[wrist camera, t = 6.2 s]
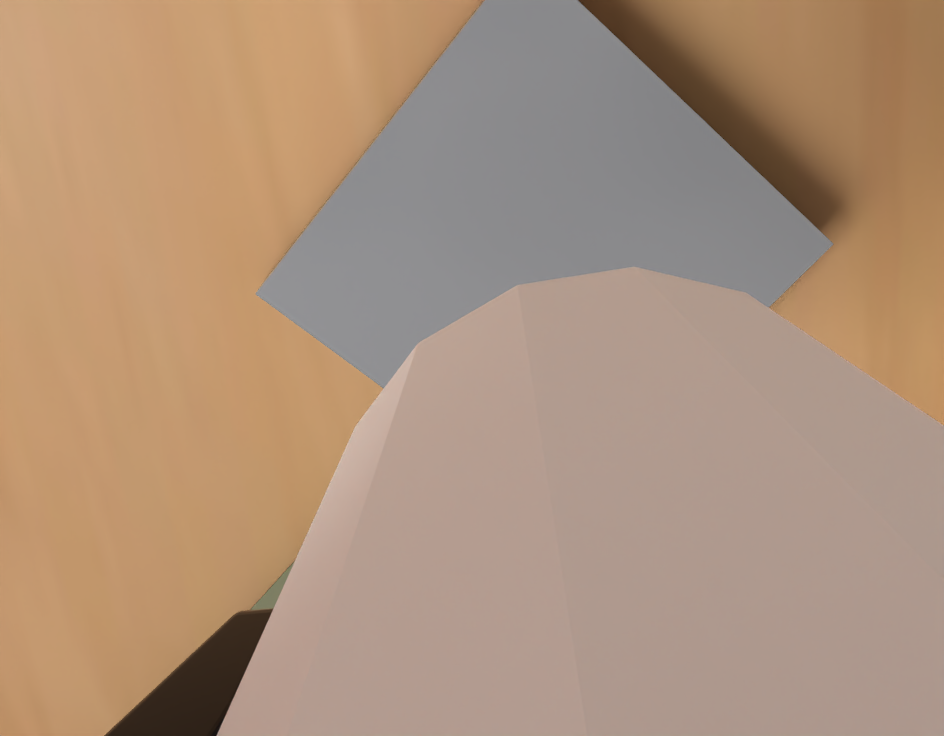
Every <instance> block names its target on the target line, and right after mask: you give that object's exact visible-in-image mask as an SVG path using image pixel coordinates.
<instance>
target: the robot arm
mask: <svg viewBox="0 0 944 736" xmlns="http://www.w3.org/2000/svg"><path fill="white" fill-rule="evenodd" d="M273 609H274V608H271V609H259V610H246V611H241V612H238V613H236V614H235V615H233V616H232V617H231V618H230V619H229V620H228V621H227V622H226V623H225V624H223V625H222V626H221V627H220V628H219V629H218V630H217V631H216V632H215V633H214V634H213V635H212V636H211V637H210V638H208V639H207V640H206V641H205V642H204V643H203V644H202V645H201V646H200V647H199V648H198V649H197V650H196V651H194V652H193V653H192V654H191V655H190V656H189V657H188V658H187V659H186V660H185V661H184V662H183V663H182V664H181V665H179V666H178V667H177V668H176V669H175V670H174V671H173V672H172V673H171V674H170V675H169V676H168V677H167V678H166V679H164V680H163V681H162V682H161V683H160V684H159V685H158V686H157V687H156V688H155V689H154V690H153V691H152V692H151V693H149V694H148V695H147V696H146V697H145V698H144V699H143V700H142V701H141V702H140V703H139V704H138V705H137V706H136V707H134V708H133V709H132V710H131V711H130V712H129V713H128V714H127V715H126V716H125V717H124V718H123V719H122V720H121V721H119V722H118V723H117V724H116V725H115V726H114V727H113V728H112V729H111V730H110V731H109V732H108V733H107V734H106V735H104V736H217V734H218V731H219V729H220V727H221V725H222V723H223V720H224V718H225V716H226V714H227V711H228V709H229V707H230V705H231V702H232V700H233V698H234V696H235V694H236V691H237V689H238V687H239V685H240V682H241V680H242V678H243V676H244V673H245V671H246V669H247V667H248V665H249V662H250V660H251V658H252V656H253V653H254V651H255V649H256V647H257V644H258V642H259V640H260V638H261V636H262V633H263V631H264V629H265V627H266V624H267V622H268V620H269V618H270V615H271V613H272V611H273Z"/></svg>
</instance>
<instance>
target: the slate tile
mask: <svg viewBox="0 0 944 736" xmlns="http://www.w3.org/2000/svg"><path fill="white" fill-rule="evenodd" d="M832 245H833V243H832V242H831V241H830V240H829V239H828V238H827V237H826V236H825V235H824V234H822V233H821V232H820V231H819V230H818V229H817V228H816V227H815V226H814V225H813V224H812V223H811V222H810V221H809V220H808V219H807V218H806V217H805V216H804V215H803V214H802V213H800V212H799V211H798V210H797V209H796V208H795V207H794V206H793V205H792V204H791V203H790V202H789V201H788V200H787V199H786V198H785V197H784V196H783V195H782V194H781V193H779V192H778V191H777V190H776V189H775V188H774V187H773V186H772V185H771V184H770V183H769V182H768V181H767V180H766V179H765V178H764V177H763V176H762V175H761V174H760V173H758V172H757V171H756V170H755V169H754V168H753V167H752V166H751V165H750V164H749V163H748V162H747V161H746V160H745V159H744V158H743V157H742V156H741V155H740V154H739V153H737V152H736V151H735V150H734V149H733V148H732V147H731V146H730V145H729V144H728V143H727V142H726V141H725V140H724V139H723V138H722V137H721V136H720V135H719V134H718V133H716V132H715V131H714V130H713V129H712V128H711V127H710V126H709V125H708V124H707V123H706V122H705V121H704V120H703V119H702V118H701V117H700V116H699V115H698V114H697V113H695V112H694V111H693V110H692V109H691V108H690V107H689V106H688V105H687V104H686V103H685V102H684V101H683V100H682V99H681V98H680V97H679V96H678V95H677V94H676V93H675V92H673V91H672V90H671V89H670V88H669V87H668V86H667V85H666V84H665V83H664V82H663V81H662V80H661V79H660V78H659V77H658V76H657V75H656V74H655V73H654V72H652V71H651V70H650V69H649V68H648V67H647V66H646V65H645V64H644V63H643V62H642V61H641V60H640V59H639V58H638V57H637V56H636V55H635V54H634V53H633V52H631V51H630V50H629V49H628V48H627V47H626V46H625V45H624V44H623V43H622V42H621V41H620V40H619V39H618V38H617V37H616V36H615V35H614V34H613V33H612V32H610V31H609V30H608V29H607V28H606V27H605V26H604V25H603V24H602V23H601V22H600V21H599V20H598V19H597V18H596V17H595V16H594V15H593V14H592V13H591V12H589V11H588V10H587V9H586V8H585V7H584V6H583V5H582V4H581V3H580V2H579V1H578V0H483V2H482V3H481V4H480V5H479V7H478V8H477V9H476V11H475V12H474V13H473V14H472V16H471V17H470V18H469V20H468V21H467V22H466V23H465V25H464V26H463V27H462V28H461V30H460V31H459V32H458V34H457V35H456V36H455V37H454V39H453V40H452V41H451V43H450V44H449V45H448V46H447V48H446V49H445V50H444V52H443V53H442V54H441V55H440V57H439V58H438V59H437V60H436V62H435V63H434V64H433V66H432V67H431V68H430V69H429V71H428V72H427V73H426V75H425V76H424V77H423V78H422V80H421V81H420V82H419V83H418V85H417V86H416V87H415V89H414V90H413V91H412V92H411V94H410V95H409V96H408V98H407V99H406V100H405V101H404V103H403V104H402V105H401V107H400V108H399V109H398V110H397V112H396V113H395V114H394V115H393V117H392V118H391V119H390V121H389V122H388V123H387V124H386V126H385V127H384V128H383V130H382V131H381V132H380V133H379V135H378V136H377V137H376V139H375V140H374V141H373V142H372V144H371V145H370V146H369V147H368V149H367V150H366V151H365V153H364V154H363V155H362V156H361V158H360V159H359V160H358V162H357V163H356V164H355V165H354V167H353V168H352V169H351V171H350V172H349V173H348V174H347V176H346V177H345V178H344V179H343V181H342V182H341V183H340V185H339V186H338V187H337V188H336V190H335V191H334V192H333V194H332V195H331V196H330V197H329V199H328V200H327V201H326V203H325V204H324V205H323V206H322V208H321V209H320V210H319V211H318V213H317V214H316V215H315V217H314V218H313V219H312V220H311V222H310V223H309V224H308V226H307V227H306V228H305V229H304V231H303V232H302V233H301V235H300V236H299V237H298V238H297V240H296V241H295V242H294V243H293V245H292V246H291V247H290V249H289V250H288V251H287V252H286V254H285V255H284V256H283V258H282V259H281V260H280V261H279V263H278V264H277V265H276V267H275V268H274V269H273V270H272V272H271V273H270V274H269V275H268V277H267V278H266V279H265V281H264V282H263V283H262V285H261V286H260V288H259V289H258V291H257V292H256V295H257V296H259V297H260V298H262V299H263V300H264V301H266V302H267V303H268V304H270V305H271V306H272V307H274V308H275V309H276V310H278V311H279V312H281V313H282V314H283V315H285V316H286V317H287V318H289V319H290V320H291V321H293V322H294V323H295V324H297V325H298V326H300V327H301V328H302V329H304V330H305V331H306V332H308V333H309V334H310V335H312V336H313V337H315V338H316V339H317V340H319V341H320V342H321V343H323V344H324V345H325V346H327V347H328V348H329V349H331V350H332V351H334V352H335V353H336V354H338V355H339V356H340V357H342V358H343V359H344V360H346V361H347V362H348V363H350V364H351V365H353V366H354V367H355V368H357V369H358V370H359V371H361V372H362V373H363V374H365V375H366V376H368V377H369V378H370V379H372V380H373V381H374V382H376V383H377V384H378V385H380V386H381V387H382V388H385V386H386V385H387V384H388V382H389V381H390V380H391V378H392V377H393V376H394V374H395V373H396V372H397V370H398V369H399V368H400V366H401V365H402V364H403V362H404V361H405V360H406V358H407V357H408V356H409V354H410V353H411V352H412V350H413V349H414V348H415V346H416V345H417V344H418V343H419V342H421V341H422V340H424V339H426V338H427V337H429V336H431V335H433V334H434V333H436V332H438V331H439V330H441V329H443V328H445V327H446V326H448V325H450V324H451V323H453V322H455V321H457V320H458V319H460V318H462V317H463V316H465V315H467V314H469V313H470V312H472V311H474V310H475V309H477V308H479V307H481V306H482V305H484V304H486V303H487V302H489V301H491V300H493V299H494V298H496V297H498V296H499V295H501V294H503V293H505V292H506V291H508V290H510V289H511V288H513V287H515V286H517V285H521V284H527V283H534V282H540V281H547V280H553V279H559V278H566V277H572V276H579V275H585V274H592V273H598V272H604V271H611V270H617V269H624V268H630V267H638V268H642V269H646V270H651V271H655V272H659V273H663V274H668V275H672V276H676V277H681V278H685V279H689V280H694V281H698V282H702V283H707V284H711V285H715V286H720V287H724V288H728V289H732V290H737V291H741V292H745V293H747V294H749V295H750V296H752V297H753V298H755V299H756V300H758V301H759V302H761V303H762V304H764V305H765V306H767V307H768V308H769V307H770V306H771V305H772V304H773V303H774V302H775V301H776V300H777V299H778V298H779V297H780V296H781V295H782V294H783V293H784V292H785V291H786V290H787V289H788V288H789V287H790V286H791V285H792V284H793V283H794V282H795V281H796V280H797V279H798V278H799V277H800V276H801V275H802V274H803V273H804V272H805V271H807V270H808V269H809V268H810V267H811V266H812V265H813V264H814V263H815V262H816V261H817V260H818V259H819V258H820V257H821V256H822V255H823V254H824V253H825V252H826V251H827V250H828V249H829V248H830V247H831V246H832Z"/></svg>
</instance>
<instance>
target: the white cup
mask: <svg viewBox="0 0 944 736" xmlns="http://www.w3.org/2000/svg"><path fill="white" fill-rule="evenodd" d="M217 736H944V425H942V424H941V423H939V422H938V421H936V420H935V419H933V418H932V417H930V416H929V415H927V414H926V413H924V412H923V411H921V410H920V409H918V408H917V407H915V406H914V405H912V404H911V403H909V402H908V401H906V400H905V399H903V398H902V397H900V396H899V395H898V394H896V393H895V392H893V391H892V390H890V389H889V388H887V387H886V386H884V385H883V384H881V383H880V382H878V381H877V380H875V379H874V378H872V377H871V376H869V375H868V374H866V373H865V372H863V371H862V370H860V369H859V368H857V367H856V366H854V365H853V364H851V363H850V362H848V361H847V360H845V359H844V358H842V357H841V356H839V355H838V354H836V353H835V352H833V351H832V350H831V349H829V348H828V347H826V346H825V345H823V344H822V343H820V342H819V341H817V340H816V339H814V338H813V337H811V336H810V335H808V334H807V333H805V332H804V331H802V330H801V329H799V328H798V327H796V326H795V325H793V324H792V323H790V322H789V321H787V320H786V319H784V318H783V317H781V316H780V315H778V314H777V313H775V312H774V311H772V310H771V309H769V308H768V307H767V306H765V305H764V304H762V303H761V302H759V301H758V300H756V299H755V298H753V297H752V296H750V295H749V294H747V293H745V292H741V291H737V290H732V289H728V288H724V287H720V286H715V285H711V284H707V283H702V282H698V281H694V280H689V279H685V278H681V277H676V276H672V275H668V274H663V273H659V272H655V271H651V270H646V269H642V268H638V267H630V268H624V269H617V270H611V271H604V272H598V273H592V274H585V275H579V276H572V277H566V278H559V279H553V280H547V281H540V282H534V283H527V284H521V285H517V286H515V287H513V288H511V289H510V290H508V291H506V292H505V293H503V294H501V295H499V296H498V297H496V298H494V299H493V300H491V301H489V302H487V303H486V304H484V305H482V306H481V307H479V308H477V309H475V310H474V311H472V312H470V313H469V314H467V315H465V316H463V317H462V318H460V319H458V320H457V321H455V322H453V323H451V324H450V325H448V326H446V327H445V328H443V329H441V330H439V331H438V332H436V333H434V334H433V335H431V336H429V337H427V338H426V339H424V340H422V341H421V342H419V343H418V344H417V345H416V346H415V348H414V349H413V350H412V352H411V353H410V354H409V356H408V357H407V358H406V360H405V361H404V362H403V364H402V365H401V366H400V368H399V369H398V370H397V372H396V373H395V374H394V376H393V377H392V378H391V380H390V381H389V382H388V384H387V385H386V386H385V388H384V389H383V390H382V392H381V393H380V394H379V396H378V397H377V398H376V400H375V401H374V402H373V404H372V405H371V406H370V408H369V409H368V410H367V412H366V413H365V414H364V416H363V417H362V418H361V420H360V421H359V422H358V424H357V425H356V426H355V428H354V430H353V433H352V435H351V437H350V439H349V442H348V444H347V446H346V448H345V451H344V453H343V455H342V457H341V459H340V462H339V464H338V466H337V468H336V471H335V473H334V475H333V477H332V480H331V482H330V484H329V486H328V488H327V491H326V493H325V495H324V497H323V500H322V502H321V504H320V506H319V508H318V511H317V513H316V515H315V517H314V520H313V522H312V524H311V526H310V529H309V531H308V533H307V535H306V537H305V540H304V542H303V544H302V546H301V549H300V551H299V553H298V555H297V558H296V560H295V562H294V564H293V566H292V569H291V571H290V573H289V575H288V578H287V580H286V582H285V584H284V587H283V589H282V591H281V593H280V595H279V598H278V600H277V602H276V604H275V607H274V609H273V611H272V613H271V615H270V618H269V620H268V622H267V624H266V627H265V629H264V631H263V633H262V636H261V638H260V640H259V642H258V644H257V647H256V649H255V651H254V653H253V656H252V658H251V660H250V662H249V665H248V667H247V669H246V671H245V673H244V676H243V678H242V680H241V682H240V685H239V687H238V689H237V691H236V694H235V696H234V698H233V700H232V702H231V705H230V707H229V709H228V711H227V714H226V716H225V718H224V720H223V723H222V725H221V727H220V729H219V731H218V734H217Z"/></svg>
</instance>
